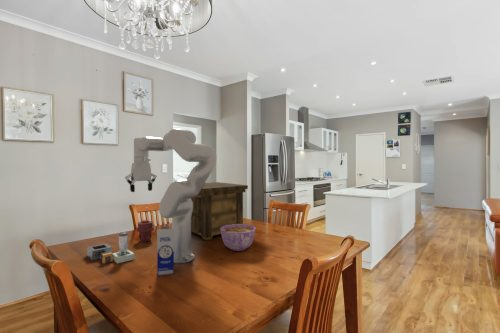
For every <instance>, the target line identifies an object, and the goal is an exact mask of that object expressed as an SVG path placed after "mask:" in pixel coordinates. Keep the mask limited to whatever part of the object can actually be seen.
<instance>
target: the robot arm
mask: <svg viewBox="0 0 500 333" xmlns="http://www.w3.org/2000/svg"><path fill="white" fill-rule="evenodd" d="M196 141H197V136H196V134H195V133H194V132H193V131H191V130H189V129H182V128H172V129H170V130H169V131H168V132H167V133H165V134H164V135H163V137H157V136H156V137H154V136H144V137H143V136H142V137H136V138H133V162H132V163H131V167H130V168H131V169H130V174H128V175H126V176H125V177H124V179H125V181H126V182H127V183H128V185H129V190H130V192H131V193H135V190H136V188H135V186H136V185H135V183H136V182H145V181H147V182H148V183H147V190H148V191H149V192H150V191H153V183H154V182H155V180H156V178H157V174H154V173H152V166H151V163H150V162H151V160H152V159H151V158H150V157H149V152H168V151H172V150H173V151H174V152H175V153H176V154H177V155H178V156H179V157H180V158H181V159H182V160H184V161H185V162H188V163H197V164H196V165H195V166H194V167H192V168H191V170H190V172H189V174H188V176H187V177H186V178H184V179H177V180H174V181H172V182H171V183H170V184H169V186H168V187H167V188H166V191H165V193H164V194H163V196H162V198H161V199H160V202H159V203H158V204H159V205H158V213H159V215H160V216H161V217H162V218H165V219H171V218H172V220H171V229H172V228H174V264H185V263H188V262H189V263H190V262H192V261H193V260H194V259H195V254H193V253H192V252H193V251H192V233H191V217H192V211H193V202H192V200H191V198H194V197H196V196H197V195H198V194H199V192H200V190H201V189H202V187H203V185H204V184H205V183H207V180H208V178H209V176H210V175H211V174H212V172H213V171H214V169H215V167H216V165H217V153H216V151H215V149H214V148H213V147H212V146H210V145H208V144H205V143H204V144H203V143H196Z"/></svg>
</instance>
